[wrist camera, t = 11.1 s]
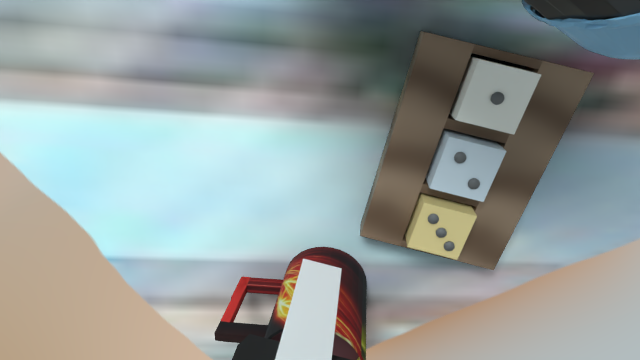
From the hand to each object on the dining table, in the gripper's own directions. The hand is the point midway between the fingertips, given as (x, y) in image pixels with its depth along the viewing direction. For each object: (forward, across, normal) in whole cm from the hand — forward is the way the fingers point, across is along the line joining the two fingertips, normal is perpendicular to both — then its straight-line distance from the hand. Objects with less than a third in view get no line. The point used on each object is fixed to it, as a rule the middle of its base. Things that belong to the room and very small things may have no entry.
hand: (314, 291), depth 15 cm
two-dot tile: (+24, +11, 0) cm, 26 cm away
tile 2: (+24, +11, +6) cm, 27 cm away
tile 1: (+24, +11, -6) cm, 27 cm away
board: (+24, +11, 0) cm, 27 cm away
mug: (+25, 0, -20) cm, 32 cm away
